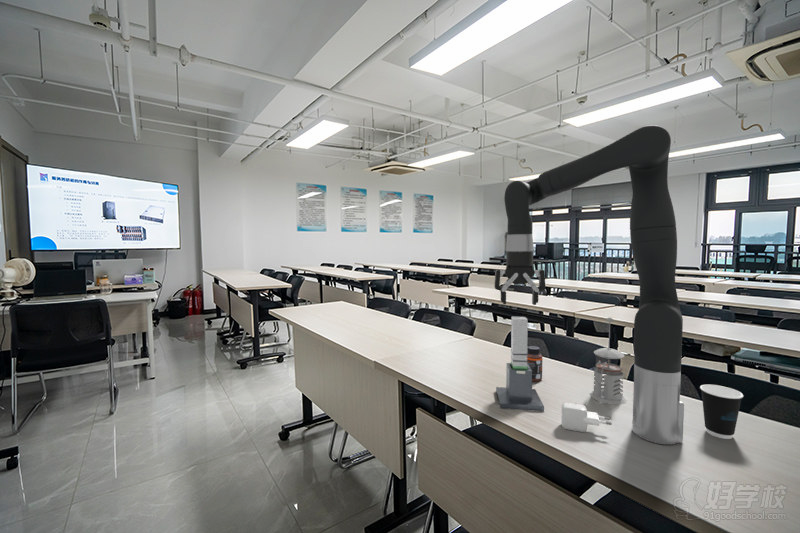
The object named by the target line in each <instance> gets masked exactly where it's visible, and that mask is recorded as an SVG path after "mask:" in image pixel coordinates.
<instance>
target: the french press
mask: <svg viewBox="0 0 800 533" xmlns="http://www.w3.org/2000/svg"><path fill="white" fill-rule="evenodd" d="M605 321H606V322H608V324H609V327H608V329H609V330H608V347H603V348H597V349H596V350H594V351H593V353H594V355H595V356H596V357H600V358H602V359H607V360H608V363H607V361H604V362H601V361H602V360H598V362H597V363H595V367H594V369H593V391H591V392H590V394H589V396H590V398H592V399H594V400H596V401H598V402H601V403H603V404H609V405H623V404H626V403H627V399H626V398H625V397H624V394H623V393H624V390H623V388H624V381H623V380H624V373H623V368H622V367H621V366H620V365H618V364H614V363H610V360H621V359H623V358H625V354H624V353H622V352H621V351H619V350H617V349H615V348H610V344H611V343H610V342H611V341H610V340H611V323H613V322H614V318H612V317H607V318H606V320H605Z"/></svg>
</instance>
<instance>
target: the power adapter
mask: <svg viewBox="0 0 800 533" xmlns="http://www.w3.org/2000/svg"><path fill="white" fill-rule="evenodd" d="M600 424H603V425H608V426H612V424H613V422H611V418H610V417H608V416H602V415H599V414H598V412H594V411H588V409H587V406H585V405H583V404H577V403H572V402H571V403H570V402H562V404H561V426H562V428H563V429H564V430H569V431H573V432H582V433H585V432H587V430H588V425H592V426H597V427H599V426H600Z"/></svg>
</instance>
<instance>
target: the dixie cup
mask: <svg viewBox="0 0 800 533" xmlns="http://www.w3.org/2000/svg"><path fill="white" fill-rule="evenodd" d="M699 389H700V390H701V400H702V407H703V408H702V410H703V420H704V427H705V430H706V433H708V434H709V435H710V436H713V437H716V438H719V439H723V440H730V439H732V438H733V435H735V433H736V432H735V431H736V426H737V421H738V418H739V417H738V416H739V413H740V408H741V402H742V399H743V398H744V394H743V393H742V392H741V391H739V390H737V389H734V388H732V387H726V386H722V385H718V384H701V385H700V386H699Z"/></svg>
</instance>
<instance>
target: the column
mask: <svg viewBox="0 0 800 533" xmlns="http://www.w3.org/2000/svg"><path fill="white" fill-rule="evenodd" d="M528 324H529V323H528V318H527V317H526V316H511V329H510V330H511V332H510V335H511V337H510V338H511V340H510V342H511V343H510V346H511V347H510V351H511V352H510V353H511V354H510V363H511V369H516V370H527V352H528V351H527V350H528V326H529V325H528Z"/></svg>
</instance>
